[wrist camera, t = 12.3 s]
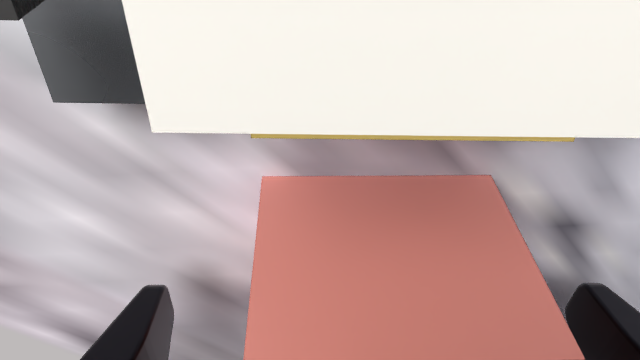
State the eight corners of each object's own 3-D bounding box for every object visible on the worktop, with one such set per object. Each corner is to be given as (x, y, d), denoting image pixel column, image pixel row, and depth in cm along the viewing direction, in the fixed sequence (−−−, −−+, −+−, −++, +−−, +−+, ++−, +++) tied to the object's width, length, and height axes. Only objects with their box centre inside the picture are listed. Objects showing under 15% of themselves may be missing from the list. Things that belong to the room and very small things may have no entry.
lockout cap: (489, 171, 9) (617, 421, 6) (446, 308, 12) (511, 533, 8) (262, 173, 9) (235, 432, 5) (272, 311, 12) (260, 542, 8)
